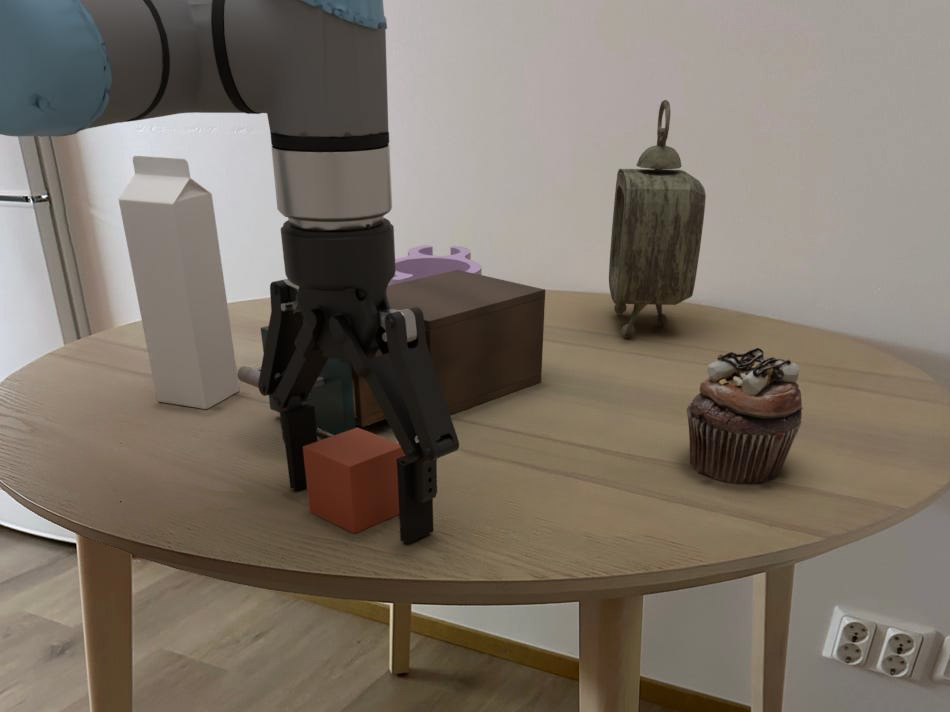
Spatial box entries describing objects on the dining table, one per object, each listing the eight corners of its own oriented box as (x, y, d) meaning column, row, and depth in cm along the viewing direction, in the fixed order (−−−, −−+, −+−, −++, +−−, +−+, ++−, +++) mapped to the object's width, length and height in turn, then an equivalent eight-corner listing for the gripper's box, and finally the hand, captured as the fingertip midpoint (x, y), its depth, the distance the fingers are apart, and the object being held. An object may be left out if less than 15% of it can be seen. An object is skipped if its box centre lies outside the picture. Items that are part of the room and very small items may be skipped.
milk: (192, 384, 98) (153, 151, 86) (241, 391, 96) (208, 155, 84) (156, 402, 93) (109, 158, 81) (206, 410, 92) (166, 162, 79)
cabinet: (431, 422, 90) (429, 321, 84) (347, 391, 97) (340, 296, 91) (541, 381, 100) (545, 289, 94) (457, 356, 107) (457, 269, 101)
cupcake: (812, 466, 81) (837, 352, 76) (752, 498, 76) (775, 378, 70) (719, 436, 87) (737, 328, 81) (657, 464, 81) (672, 351, 76)
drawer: (306, 454, 80) (297, 365, 76) (231, 421, 87) (218, 337, 82) (465, 398, 93) (464, 318, 88) (388, 372, 99) (385, 297, 95)
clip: (398, 297, 129) (396, 244, 125) (487, 299, 128) (488, 246, 124) (374, 338, 112) (371, 279, 109) (476, 341, 112) (476, 281, 108)
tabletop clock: (605, 311, 124) (623, 95, 110) (672, 312, 124) (699, 96, 110) (613, 342, 112) (635, 104, 98) (688, 344, 112) (720, 106, 98)
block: (309, 511, 73) (302, 446, 70) (361, 490, 77) (357, 427, 73) (354, 534, 70) (349, 466, 67) (407, 510, 73) (404, 445, 70)
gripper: (513, 235, 57) (506, 543, 69) (270, 191, 71) (299, 453, 83) (426, 254, 52) (434, 580, 64) (184, 202, 66) (228, 478, 78)
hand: (358, 509), depth 73 cm, fingers open, 13 cm apart
